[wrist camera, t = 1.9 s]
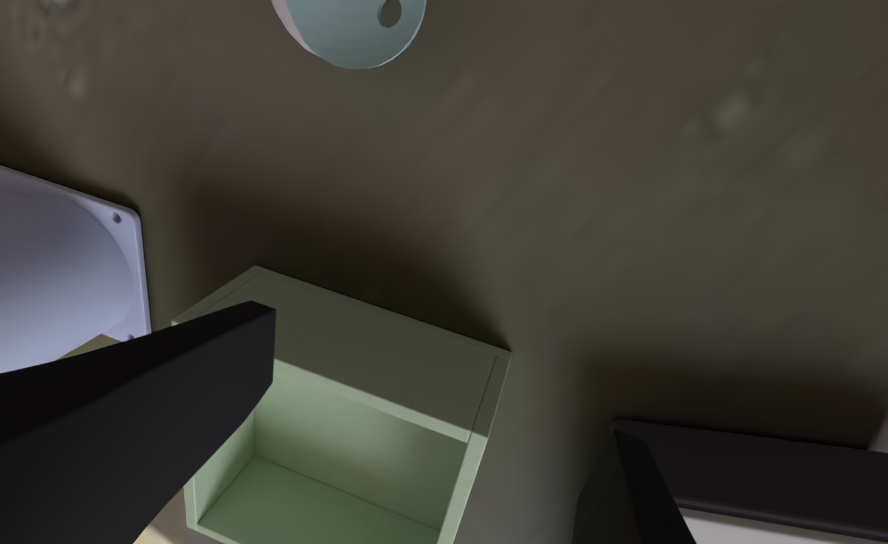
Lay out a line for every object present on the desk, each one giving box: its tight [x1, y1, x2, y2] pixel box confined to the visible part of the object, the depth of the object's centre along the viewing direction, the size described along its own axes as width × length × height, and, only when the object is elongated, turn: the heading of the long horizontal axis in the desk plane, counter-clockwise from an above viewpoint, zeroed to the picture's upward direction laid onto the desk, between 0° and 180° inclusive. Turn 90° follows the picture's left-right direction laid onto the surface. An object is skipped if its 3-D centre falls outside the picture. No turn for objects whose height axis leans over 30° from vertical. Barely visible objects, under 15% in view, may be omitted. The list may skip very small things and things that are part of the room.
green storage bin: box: [171, 265, 513, 544], centre depth 22 cm, size 12×12×5 cm
